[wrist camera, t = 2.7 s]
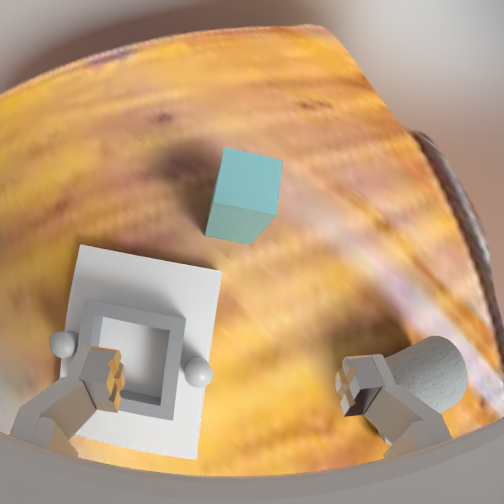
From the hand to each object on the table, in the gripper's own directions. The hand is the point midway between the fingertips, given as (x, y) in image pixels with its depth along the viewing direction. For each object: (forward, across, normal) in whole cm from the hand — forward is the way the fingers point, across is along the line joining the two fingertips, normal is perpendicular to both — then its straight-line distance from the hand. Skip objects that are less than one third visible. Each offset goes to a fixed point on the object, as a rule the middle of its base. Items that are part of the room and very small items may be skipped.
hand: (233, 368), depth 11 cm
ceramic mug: (+9, +17, -16) cm, 25 cm away
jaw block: (+18, 0, -2) cm, 18 cm away
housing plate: (+10, -7, -11) cm, 16 cm away
